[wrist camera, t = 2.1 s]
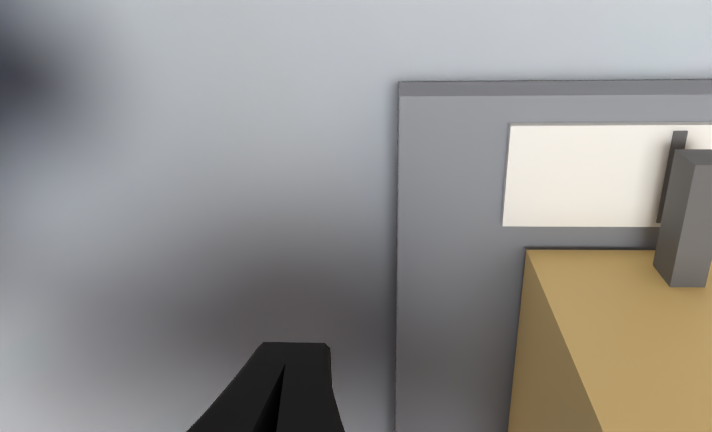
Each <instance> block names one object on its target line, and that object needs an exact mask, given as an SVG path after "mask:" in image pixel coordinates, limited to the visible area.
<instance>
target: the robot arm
mask: <svg viewBox="0 0 712 432" xmlns="http://www.w3.org/2000/svg"><path fill="white" fill-rule="evenodd" d="M187 432H345V431H344V428H343V425H342V422H341V419H340V415H339V412H338V408H337V405H336V401H335V398H334V393H333V389H332V377H331V353H330V347H329V346H327V345H326V344H325V343H287V342H263V343H262V344H261V345H260V346H259V347H258V348H257V350H256V351H255V352H254V354H253V355H252V356H251V358H250V359H249V360H248V361H247V363H246V364H245V365H244V367H243V368H242V369H241V370H240V372H239V373H238V374H237V375H236V377H235V378H234V379H233V380H232V382H231V383H230V384H229V385H228V387H227V388H226V389H225V390H224V391H223V392H222V393H221V395H220V396H219V397H218V398H217V399H216V400H215V402H214V403H213V404H212V405H211V406H210V407H209V409H208V410H207V411H206V412H205V413H204V414H203V415H202V416H201V417H200V418H199V419H198V420H197V421H196V422H195V423H194V424H193V425H192V426H191V428H190V429H189V430H188V431H187Z"/></svg>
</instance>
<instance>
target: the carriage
mask: <svg viewBox="0 0 712 432" xmlns="http://www.w3.org/2000/svg"><path fill="white" fill-rule="evenodd" d="M508 432H712V150H711V149H675V153H674V158H673V163H672V168H671V173H670V179H669V184H668V189H667V194H666V199H665V204H664V209H663V214H662V220H661V225H660V230H659V235H658V240H657V245H656V250H526V257H525V267H524V277H523V287H522V296H521V306H520V316H519V326H518V336H517V345H516V355H515V365H514V375H513V385H512V394H511V404H510V414H509V424H508Z"/></svg>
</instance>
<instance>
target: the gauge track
mask: <svg viewBox="0 0 712 432" xmlns="http://www.w3.org/2000/svg"><path fill="white" fill-rule="evenodd" d="M675 149H711V150H712V79H701V80H571V81H441V82H399V95H398V203H397V312H396V420H395V432H508V424H509V414H510V404H511V394H512V385H513V375H514V365H515V355H516V345H517V336H518V326H519V316H520V306H521V296H522V287H523V277H524V267H525V257H526V250H656V245H657V240H658V235H659V230H660V225H661V220H662V214H663V209H664V204H665V199H666V194H667V189H668V184H669V179H670V173H671V168H672V163H673V158H674V153H675Z"/></svg>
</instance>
